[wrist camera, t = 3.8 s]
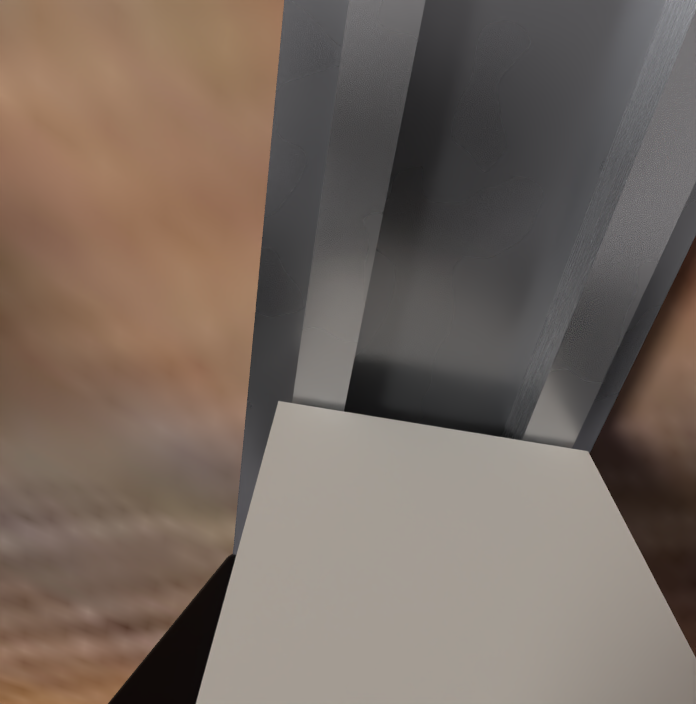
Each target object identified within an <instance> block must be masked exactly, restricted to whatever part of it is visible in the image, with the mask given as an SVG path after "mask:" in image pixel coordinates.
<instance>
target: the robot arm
mask: <svg viewBox="0 0 696 704" xmlns="http://www.w3.org/2000/svg"><path fill="white" fill-rule="evenodd" d="M235 558H236V554H232V555H230V556H228V557H227V558H226V560H225V561H224V562H223V563H222V564H221V566H220V567H219V568H218V569H217V571H216V572H215V573H214V574H213V576H212V577H211V578H210V579H209V580H208V582H207V583H206V584H205V585H204V587H203V588H202V589H201V590H200V591H199V593H198V594H197V595H196V596H195V598H194V599H193V600H192V601H191V603H190V604H189V605H188V606H187V607H186V609H185V610H184V611H183V612H182V614H181V615H180V616H179V617H178V618H177V620H176V621H175V622H174V623H173V625H172V626H171V627H170V628H169V630H168V631H167V632H166V633H165V634H164V636H163V637H162V638H161V639H160V641H159V642H158V643H157V644H156V646H155V647H154V648H153V649H152V650H151V652H150V653H149V654H148V655H147V657H146V658H145V659H144V660H143V661H142V663H141V664H140V665H139V666H138V668H137V669H136V670H135V671H134V673H133V674H132V675H131V676H130V677H129V679H128V680H127V681H126V682H125V684H124V685H123V686H122V687H121V688H120V690H119V691H118V692H117V693H116V695H115V696H114V697H113V698H112V700H111V701H110V702H109V703H108V704H196V701H197V697H198V694H199V690H200V686H201V683H202V679H203V675H204V672H205V668H206V664H207V661H208V657H209V653H210V650H211V646H212V642H213V639H214V635H215V632H216V628H217V624H218V621H219V617H220V613H221V610H222V606H223V602H224V599H225V595H226V591H227V588H228V584H229V580H230V577H231V573H232V569H233V566H234V562H235Z"/></svg>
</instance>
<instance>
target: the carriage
mask: <svg viewBox="0 0 696 704" xmlns="http://www.w3.org/2000/svg"><path fill="white" fill-rule="evenodd" d="M196 704H696V657H695V655H694V654H693V652H692V650H691V648H690V646H689V644H688V642H687V640H686V638H685V636H684V634H683V632H682V631H681V629H680V627H679V625H678V623H677V621H676V619H675V617H674V615H673V613H672V611H671V609H670V608H669V606H668V604H667V602H666V600H665V598H664V596H663V594H662V592H661V590H660V588H659V586H658V585H657V583H656V581H655V579H654V577H653V575H652V573H651V571H650V569H649V567H648V565H647V563H646V562H645V560H644V558H643V556H642V554H641V552H640V550H639V548H638V546H637V544H636V542H635V540H634V539H633V537H632V535H631V533H630V531H629V529H628V527H627V525H626V523H625V521H624V519H623V517H622V516H621V514H620V512H619V510H618V508H617V506H616V504H615V502H614V500H613V498H612V496H611V494H610V492H609V491H608V489H607V487H606V485H605V483H604V481H603V479H602V477H601V475H600V473H599V471H598V469H597V468H596V466H595V464H594V462H593V460H592V458H591V456H590V454H589V452H588V451H584V450H577V449H571V448H565V447H559V446H553V445H547V444H540V443H534V442H528V441H522V440H516V439H510V438H504V437H497V436H491V435H485V434H479V433H473V432H467V431H460V430H454V429H448V428H442V427H436V426H430V425H423V424H417V423H411V422H405V421H399V420H393V419H387V418H380V417H374V416H368V415H362V414H356V413H350V412H343V411H337V410H331V409H325V408H319V407H313V406H307V405H300V404H294V403H288V402H282V401H278V405H277V408H276V412H275V416H274V419H273V423H272V427H271V430H270V434H269V438H268V441H267V445H266V449H265V452H264V456H263V460H262V463H261V467H260V471H259V474H258V478H257V482H256V485H255V489H254V492H253V496H252V500H251V503H250V507H249V511H248V514H247V518H246V522H245V525H244V529H243V533H242V536H241V540H240V544H239V547H238V551H237V555H236V558H235V562H234V566H233V569H232V573H231V577H230V580H229V584H228V588H227V591H226V595H225V599H224V602H223V606H222V610H221V613H220V617H219V621H218V624H217V628H216V632H215V635H214V639H213V642H212V646H211V650H210V653H209V657H208V661H207V664H206V668H205V672H204V675H203V679H202V683H201V686H200V690H199V694H198V697H197V701H196Z"/></svg>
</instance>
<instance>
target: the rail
mask: <svg viewBox="0 0 696 704" xmlns="http://www.w3.org/2000/svg"><path fill="white" fill-rule="evenodd" d="M695 236H696V0H284V11H283V22H282V33H281V43H280V54H279V65H278V76H277V86H276V97H275V108H274V119H273V129H272V140H271V151H270V162H269V172H268V183H267V194H266V205H265V215H264V226H263V237H262V248H261V258H260V269H259V280H258V291H257V301H256V312H255V323H254V334H253V344H252V355H251V366H250V377H249V387H248V398H247V409H246V420H245V430H244V441H243V452H242V463H241V474H240V484H239V495H238V506H237V517H236V527H235V538H234V549H233V554H236V555H237V551H238V547H239V544H240V540H241V536H242V533H243V529H244V525H245V522H246V518H247V514H248V511H249V507H250V503H251V500H252V496H253V492H254V489H255V485H256V482H257V478H258V474H259V471H260V467H261V463H262V460H263V456H264V452H265V449H266V445H267V441H268V438H269V434H270V430H271V427H272V423H273V419H274V416H275V412H276V408H277V405H278V401H282V402H288V403H294V404H300V405H307V406H313V407H319V408H325V409H331V410H337V411H343V412H350V413H356V414H362V415H368V416H374V417H380V418H387V419H393V420H399V421H405V422H411V423H417V424H423V425H430V426H436V427H442V428H448V429H454V430H460V431H467V432H473V433H479V434H485V435H491V436H497V437H504V438H510V439H516V440H522V441H528V442H534V443H540V444H547V445H553V446H559V447H565V448H571V449H577V450H584V451H588V452H589V454H590V451H591V449H592V447H593V445H594V443H595V441H596V439H597V437H598V435H599V433H600V431H601V429H602V427H603V425H604V423H605V421H606V419H607V417H608V415H609V412H610V410H611V408H612V406H613V404H614V402H615V400H616V398H617V396H618V394H619V392H620V390H621V388H622V386H623V384H624V382H625V380H626V378H627V376H628V373H629V371H630V369H631V367H632V365H633V363H634V361H635V359H636V357H637V355H638V353H639V351H640V349H641V347H642V345H643V343H644V341H645V339H646V337H647V334H648V332H649V330H650V328H651V326H652V324H653V322H654V320H655V318H656V316H657V314H658V312H659V310H660V308H661V306H662V304H663V302H664V300H665V298H666V296H667V293H668V291H669V289H670V287H671V285H672V283H673V281H674V279H675V277H676V275H677V273H678V271H679V269H680V267H681V265H682V263H683V261H684V259H685V257H686V254H687V252H688V250H689V248H690V246H691V244H692V242H693V240H694V238H695Z"/></svg>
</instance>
